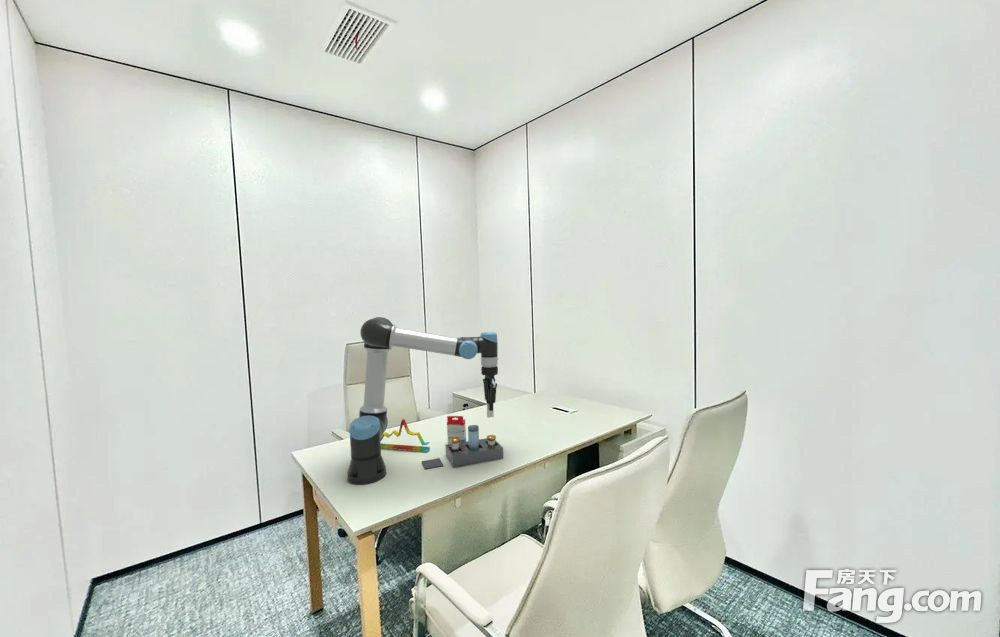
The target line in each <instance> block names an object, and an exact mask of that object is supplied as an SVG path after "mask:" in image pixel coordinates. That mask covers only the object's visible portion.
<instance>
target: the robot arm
mask: <svg viewBox="0 0 1000 637" xmlns="http://www.w3.org/2000/svg"><path fill="white" fill-rule="evenodd" d="M359 332H360V333H359V334H360V338H361V339H362V341H363V342H364V343H363V344H364V345H363V349H365V350H366V352H367V354H366V364H365V365H366V366H365V368H366V369H365V379H364V380H365V382H364V396H363V405H362V406H361V407H360V408H359V414H358V418H355V419H353V420H352V421H351V422H350V424H349V430H348V431H349V439H350V440H349V441H350V463H349V466H348V471H347V476H346V479H347V482H348V483H351V484H353V485H366V484H371V483H375V482H377V481H381V479H383V478H384V477H385V476H386V475H387V467H386V465H385V461H384V459H383V457H382V449H381V441H382V440H381V437H382V435H383V434H384V433H385V431H386V430H387V427H388V423H389V422H388V408H387V406H385V395H386V383H387V382H386V381H387V368H388V367H387V365H388V352H389V351H391V350H392V348H393V347H398V348H404V349H409V350H414V351H415V350H416V351H421V352H422V351H424V352H429V353H435V354H441V355H442V354H443V355H449V356H455V357H458V358H459V357H460V358H463V359H464V360H465V359H466V360H472V359H474V358H475V357H476V355H477V354H480V365H481V371H480V372H481V373H480V374H481V375H482V376H484V378H483V379H482V383H483V391H484V400H485V402H486V418H487V419H488V418H494V417H495V416H494V415H495V414H494V404H495V403H496V399H497V388H498V383H497V382H496V379H495V376H496V375H498V374H499V373H498V372H499V368H498V365H499V364H498V360H499V357H498V350H499V349H498V334H497V332H495V331H482V332H481V333H480V336H460V337H458V336H457V337H453V336H447V335H443V334H442V335H441V334H434V333H428V332H423V331H419V330H417V331H416V330H411V329H406V328H400V327H397V326H396V325H395V324H393V323H392V322H391V320H390V319H389V318H386V317H381V316H376V317H373V318H370V319H368V320H366V321H364V323H363V324H362V325H361V328H360V331H359ZM380 440H381V441H380Z"/></svg>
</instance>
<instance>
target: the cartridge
mask: <svg viewBox="0 0 1000 637" xmlns="http://www.w3.org/2000/svg"><path fill="white" fill-rule="evenodd" d="M479 429H480V428H479V425H477V424H471V425H468V426H467V441H468V445H469V450H472V449H478V448H479V439H480V433H479V432H480V431H479Z"/></svg>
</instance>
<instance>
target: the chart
mask: <svg viewBox="0 0 1000 637" xmlns="http://www.w3.org/2000/svg"><path fill="white" fill-rule="evenodd" d="M403 427H404V429H405V432H406V434H407V435H409V436H417V438H418V440H419V442H420V444H421V445H410V444H409V445H406V444H393V443H392V444H391V443H381V450H386V451H387V450H388V451H399V452H411V453H426V454H428V453H429V452H430V451H431V447H430V446H427V445H429V444H430V441H427V442H426V441H424V439H423V437H422V435H421V433H420V432H418V431H417V432H414V431H411V430H410V429H409V426H408V425H407V422H406V419H405V418H403V419H402V420H401V422H400V427H399V429H398V431H397V430H396V429H395V430H393V431H392V432H391V433H390V434H389V433H388V432H387V431H386V432H384V433H383V435H382V437H381V440H380V441H383V439H384V437H386V438H387V439H389V438H390V437H392V435H393V434H394V435H395V436H396V437H397V438H399V437H400V436H401V434H402V432H403V431H402V430H403Z"/></svg>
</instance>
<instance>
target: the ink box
mask: <svg viewBox="0 0 1000 637" xmlns="http://www.w3.org/2000/svg"><path fill="white" fill-rule="evenodd" d="M446 418H447V419H446V420H447V422H446V429H447V445H448V444H452V443H451V440H450V439H451V438H453V437H459V438H460V442H467V432H466V431H467V429H466V426H467V425H466V419H464V416H463V415H447V416H446ZM460 442H459V443H460Z"/></svg>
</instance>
